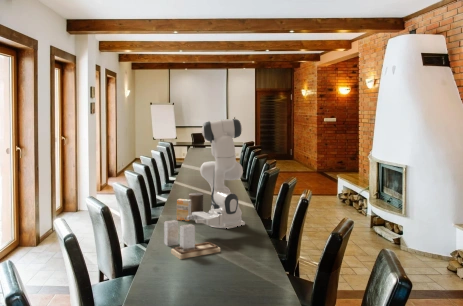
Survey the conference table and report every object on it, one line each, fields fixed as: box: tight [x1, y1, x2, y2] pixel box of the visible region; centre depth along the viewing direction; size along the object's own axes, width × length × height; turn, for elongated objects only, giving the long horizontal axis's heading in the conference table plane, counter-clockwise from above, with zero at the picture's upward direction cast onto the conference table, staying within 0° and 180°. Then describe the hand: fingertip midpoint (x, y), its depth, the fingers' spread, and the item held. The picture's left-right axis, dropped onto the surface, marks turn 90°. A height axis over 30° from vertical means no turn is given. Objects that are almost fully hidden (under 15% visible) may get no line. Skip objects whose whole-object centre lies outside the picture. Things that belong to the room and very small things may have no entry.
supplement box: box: [176, 198, 191, 222], centre depth 278 cm, size 8×5×13 cm, turn 73°
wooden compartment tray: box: [170, 241, 221, 260], centre depth 216 cm, size 22×10×3 cm, turn 122°
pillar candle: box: [188, 192, 204, 215], centre depth 294 cm, size 10×10×15 cm
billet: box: [179, 223, 196, 251], centre depth 213 cm, size 6×4×12 cm, turn 123°
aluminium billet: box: [163, 219, 179, 247], centre depth 228 cm, size 6×4×12 cm, turn 122°
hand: (191, 219), depth 233 cm, fingers open, 8 cm apart
